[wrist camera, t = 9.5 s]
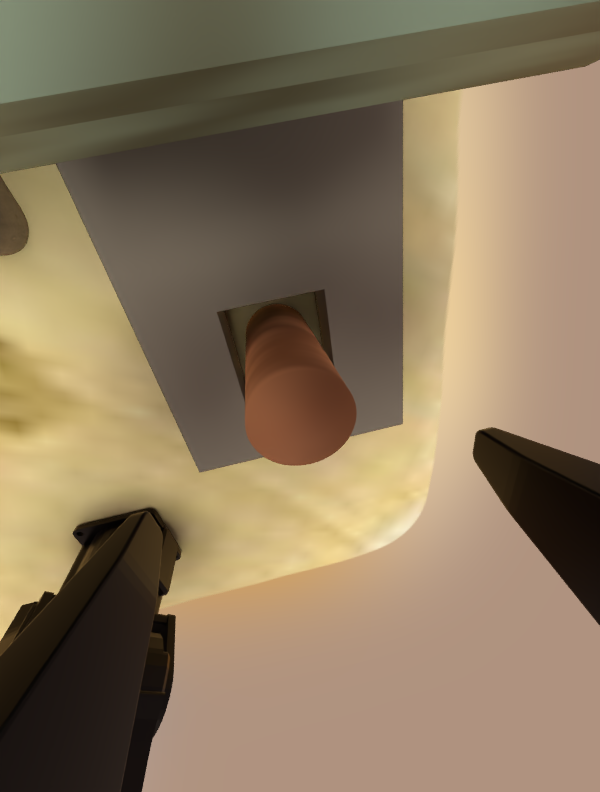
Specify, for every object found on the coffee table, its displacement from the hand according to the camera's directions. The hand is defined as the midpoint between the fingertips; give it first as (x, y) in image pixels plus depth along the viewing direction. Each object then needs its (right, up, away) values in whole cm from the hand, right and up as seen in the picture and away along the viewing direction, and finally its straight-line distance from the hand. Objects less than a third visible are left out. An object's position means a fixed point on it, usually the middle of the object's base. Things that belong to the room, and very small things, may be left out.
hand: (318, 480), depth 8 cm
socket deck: (-3, +10, +9) cm, 14 cm away
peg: (-2, +6, +11) cm, 13 cm away
